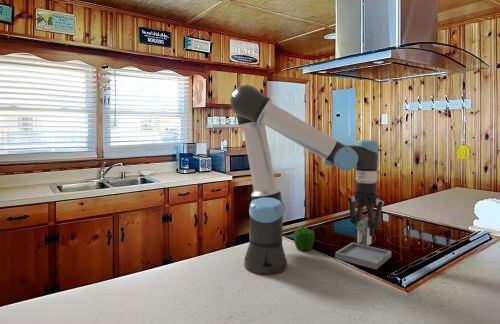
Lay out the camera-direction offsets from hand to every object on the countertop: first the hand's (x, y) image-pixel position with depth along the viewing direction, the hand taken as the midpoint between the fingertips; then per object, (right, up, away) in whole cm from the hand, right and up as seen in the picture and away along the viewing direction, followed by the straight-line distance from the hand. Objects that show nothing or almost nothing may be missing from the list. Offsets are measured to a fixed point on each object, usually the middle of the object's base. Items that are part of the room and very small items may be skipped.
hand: (364, 242), depth 125 cm
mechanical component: (0, -1, 0) cm, 1 cm away
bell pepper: (-21, -5, +10) cm, 24 cm away
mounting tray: (0, -6, +1) cm, 6 cm away
